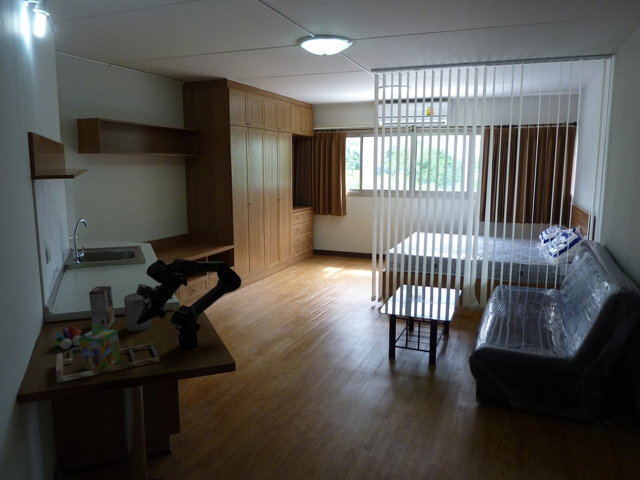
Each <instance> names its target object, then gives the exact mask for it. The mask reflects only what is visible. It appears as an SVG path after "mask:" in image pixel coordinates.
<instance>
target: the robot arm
mask: <svg viewBox="0 0 640 480" xmlns="http://www.w3.org/2000/svg"><path fill="white" fill-rule="evenodd" d="M145 273H146V275H147V276H148V277H149V278H151V279H152V280H154V281H155V282H156V283H158V284H159V285H158V284H157V285H156V286H155V287H153V286H151V285H150V286H149V285H146V284H142V283H138V285H137V288H136V292H135V293H137V295H140V296H142V298H143V299H144V298H145V299H146V301H145V302H144V301H143V310H142V312H141V314H140V316H139V318H138V320H137V322H136V323H137V324H138V325H140V324H142V323H144V322H146V321H148V320H150V319H151V320H152V319H154V318H157V317H158V318H160V319H161V320H164V319H165V318H166V316H167V311H166V309H165V307H166V304H167V303H168V302H169V300H172V299H173V298H174V297H173V295H174V294H175V293H176V292H177V291H178V290H179V289H180V288H181V286H182V285H183V286H184V287H188V278H186V276H192V275H195V274H196V273H216V275H217V278H218V280H217V281H216V285H215V286H214V287H212V288H211V289H210V290H209V291H207V292H206V293H205V294H203V295H202V296H200V298H198V299H197V300H195V302H193V303H192V304H191V305H189V306H188V305H184V304H182V305H180V306H179V308H177V309H175V310H174V311H173V313H172V314H171V318H170V323H171V326H174V329H175V330H176V331H177V332H178V334H176V337H177V346H178V347H179V348H180V350H188V349H193V348H198V347H199V345H200V344H199V343H198V332H199V331H200V330H201V329H200V328H201V324H200V323H198V318H199V316H200V315H201V314H203V312H205V311H206V310H207V309H208V308H209V307H211V306H212V305H214V304H215V303H216V302H217V301H218V300H219V299H221V298H222V297H223V296H225V295H226V294H230V293H233V292H235V291H237V290H238V289H240V287H241V286H242V277H241V276H240V275H238V273H237V272H236V271H234V269H233V268H232V267H230V265H229V264H228V263H227V262H226V261H220V260H217V261H194V260H189V259H184V258H179V257H178V258H175V259H174V260H173V261H172V262H171V263H170V262H169V263H168V264H167V263H165V262H164V261H163V260H162V259H157V260H156V261H155V262H152V263H151V265H148V267H147V269H146V272H145ZM180 275H183V276H180Z"/></svg>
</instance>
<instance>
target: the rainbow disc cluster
mask: <svg viewBox="0 0 640 480" xmlns="http://www.w3.org/2000/svg"><path fill="white" fill-rule="evenodd" d="M81 334H82V330H81V329H75V326H70V327H69V329H67V328H66V327H64V328H62V333H61V334H60V333H59V332H57V333H56V337H55V338H54V345H55V346H59V347H60V348H61V349H63V350H69V349H71V347H72V346H74V347H80V342H79V337H81V336H82V335H81Z"/></svg>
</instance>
